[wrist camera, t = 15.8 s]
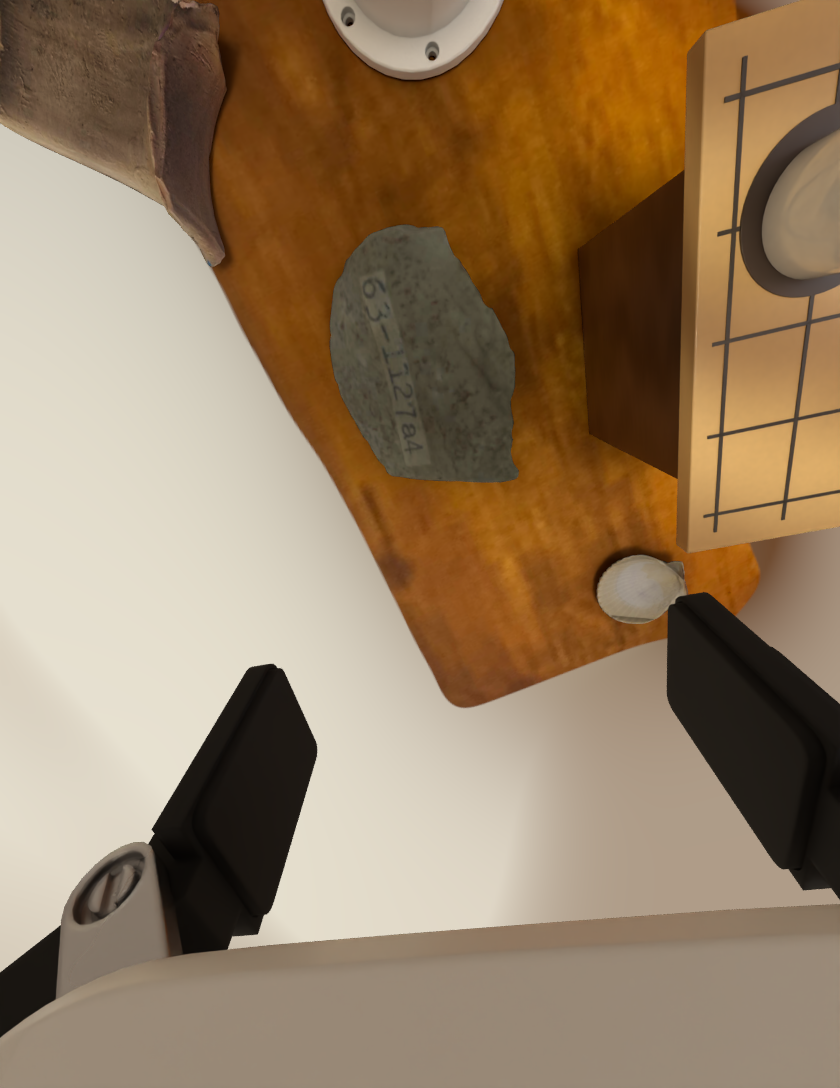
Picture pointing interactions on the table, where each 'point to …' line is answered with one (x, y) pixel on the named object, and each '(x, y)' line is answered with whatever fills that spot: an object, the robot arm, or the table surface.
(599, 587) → the seashell
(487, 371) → the stone
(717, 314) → the game board
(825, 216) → the off-white cylinder
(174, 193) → the fragment
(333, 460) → the table surface
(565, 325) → the table surface
